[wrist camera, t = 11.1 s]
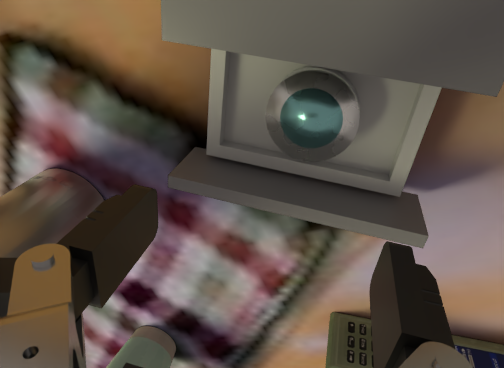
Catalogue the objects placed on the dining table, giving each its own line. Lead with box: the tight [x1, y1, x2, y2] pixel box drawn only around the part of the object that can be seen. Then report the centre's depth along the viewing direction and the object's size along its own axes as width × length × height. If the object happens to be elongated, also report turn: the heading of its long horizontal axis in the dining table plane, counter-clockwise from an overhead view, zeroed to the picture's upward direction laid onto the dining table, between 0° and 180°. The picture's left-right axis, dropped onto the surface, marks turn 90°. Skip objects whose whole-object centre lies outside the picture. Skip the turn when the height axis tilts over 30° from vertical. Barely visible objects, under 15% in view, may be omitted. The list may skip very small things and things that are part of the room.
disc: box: [265, 65, 360, 162], centre depth 24 cm, size 6×6×2 cm
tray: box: [168, 49, 441, 248], centre depth 22 cm, size 18×18×5 cm
